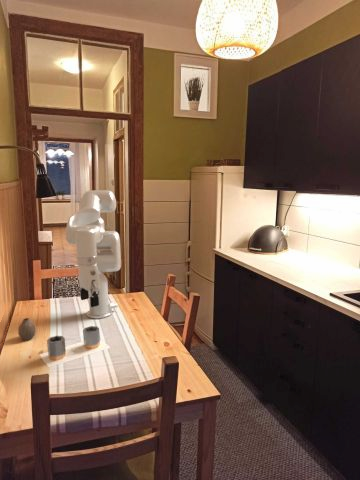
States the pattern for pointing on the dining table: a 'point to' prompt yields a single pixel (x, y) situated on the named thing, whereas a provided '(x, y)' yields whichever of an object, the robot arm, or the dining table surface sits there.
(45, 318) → the dining table surface
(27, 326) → the vase
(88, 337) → the loose sleeve
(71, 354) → the pin board
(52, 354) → the seated sleeve
